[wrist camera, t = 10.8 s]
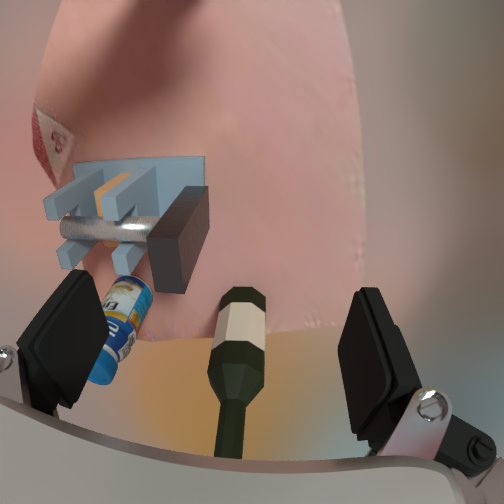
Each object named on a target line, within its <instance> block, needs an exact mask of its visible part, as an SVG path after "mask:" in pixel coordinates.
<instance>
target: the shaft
mask: <svg viewBox="0 0 504 504" xmlns="http://www.w3.org/2000/svg"><path fill="white" fill-rule="evenodd" d="M209 228H210V225H209V194H208V186H185V187H184V189H183V190H182V191H181V192H180V194H179V195H178V196H177V197H176V199H175V200H174V201H173V203H172V204H171V205H170V206H169V208H168V209H167V210H166V212H165V213H164V214H163V216H162V217H154V216H123V217H122V218H121V219H120V221H104V217H103V216H64V217H63V218H62V220H61V223H60V233H61V236H62V237H63V238H65V239H87V240H110V241H132V242H147V247H148V253H149V259H150V265H151V270H152V276H153V281H154V286H155V291H156V292H165V293H177V294H185V291H186V289H187V286H188V283H189V280H190V278H191V275H192V272H193V270H194V267H195V264H196V262H197V259H198V256H199V254H200V251H201V249H202V246H203V243H204V241H205V238H206V236H207V233H208V231H209Z"/></svg>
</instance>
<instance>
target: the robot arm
mask: <svg viewBox="0 0 504 504" xmlns="http://www.w3.org/2000/svg"><path fill="white" fill-rule="evenodd" d="M109 333H110V328H109V325H108V322H107V319H106V316H105V314H104V311H103V308H102V305H101V302H100V299H99V296H98V293H97V290H96V287H95V283H94V280H93V277H92V276H91V275H90V274H89V272H88V271H86V270H77V269H74V270H72V271H71V272H70V273H69V274H68V276H67V277H66V278H65V279H64V280H63V281H62V283H61V284H60V285H59V286H58V288H57V289H56V290H55V291H54V293H53V294H52V295H51V296H50V298H49V299H48V300H47V301H46V303H45V304H44V305H43V306H42V308H41V309H40V310H39V312H38V313H37V314H36V316H35V317H34V318H33V320H32V321H31V322H30V324H29V325H28V327H27V328H26V330H25V331H24V332H23V334H22V335H21V337H20V338H19V339H18V341H17V342H16V344H17V345H18V347H19V349H18V351H17V350H16V349H15V348H14V347H12V346H7V345H6V346H1V347H0V504H504V460H503V459H502V457H500V458H498V459H497V458H496V446H495V443H494V441H493V440H492V438H491V437H490V436H488V435H487V434H485V433H484V432H482V431H480V430H479V429H477V428H475V427H473V426H471V425H470V424H468V423H466V422H465V421H463V420H461V419H460V418H458V417H456V416H454V415H453V414H452V410H453V408H452V403H451V401H450V398H449V397H448V396H447V395H446V393H445V392H443V391H442V390H440V389H438V388H435V387H424V388H422V385H421V382H420V379H419V377H418V374H417V371H416V369H415V366H414V364H413V361H412V358H411V356H410V353H409V351H408V348H407V346H406V343H405V341H404V338H403V336H402V333H401V331H400V329H399V327H398V326H397V325H394V323H393V320H392V318H391V316H390V314H389V311H388V309H387V306H386V304H385V302H384V300H383V297H382V295H381V293H380V291H379V289H378V288H375V287H374V288H373V287H362V288H361V289H360V291H356V292H355V293H354V296H353V300H352V303H351V307H350V310H349V313H348V316H347V320H346V323H345V326H344V330H343V332H342V335H341V338H340V341H339V345H338V358H339V363H340V368H341V373H342V378H343V384H344V389H345V395H346V401H347V407H348V412H349V419H350V424H351V431H352V433H354V434H357V440H358V441H362V440H368V444H369V447H370V450H369V451H368V452H367V454H366V455H365V457H357V458H344V459H333V460H332V459H331V460H308V461H264V460H244V459H230V458H220V457H211V456H203V455H195V454H188V453H182V452H176V451H171V450H165V449H160V448H155V447H151V446H146V445H142V444H137V443H133V442H129V441H125V440H122V439H118V438H114V437H111V436H107V435H103V434H101V433H97V432H94V431H91V430H88V429H85V428H82V427H79V426H76V425H74V424H71V423H68V422H65V421H63V420H60V419H59V416H58V412H57V408H56V407H57V404H58V403H59V404H60V405H61V406H63V407H66V408H69V409H71V408H72V406H73V404H74V403H76V402H77V401H78V399H79V397H80V394H81V392H82V390H83V387H84V386H85V383H86V381H87V379H88V377H89V375H90V373H91V371H92V369H93V367H94V365H95V363H96V360H97V358H98V356H99V354H100V352H101V350H102V348H103V346H104V344H105V342H106V341H107V339H108V337H109Z"/></svg>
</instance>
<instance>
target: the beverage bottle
mask: <svg viewBox="0 0 504 504" xmlns="http://www.w3.org/2000/svg"><path fill="white" fill-rule="evenodd" d="M152 300H153V295H152V291H151V289H150V287H149V286H148V285H147V283H146V282H144V281H143V280H142V279H140V278H138V277H136V276H133V275H122V276H120V277H118V278H117V279H116V281H115V282H114V284H113V285H112V287H111V288H110V290H109V292H108V293H107V295H106V296H105V298H104V299H103V301H102V302H101V305H102V308H103V311H104V314H105V316H106V319H107V322H108V325H109V328H110V333H109V337H108V339H107V341H106V342H105V344H104V346H103V348H102V350H101V352H100V354H99V356H98V358H97V360H96V363H95V365H94V367H93V369H92V371H91V373H90V375H89V377H88V379H87V380H89V381H91V382H93V383H96V384H99V385H108V384H110V383H111V382H112V380H113V378H114V376H115V373H116V371H117V368H118V362H120V361H122V360H123V359H124V358H125V357H127V355H128V354H129V353H130V349H131V346H132V345H133V344H134V342H135V341H136V338H137V334H138V331H139V329H140V327H141V324H142V322H143V320H144V318H145V315H146V313H147V311H148V309H149V307H150V305H151V303H152Z"/></svg>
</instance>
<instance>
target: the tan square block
mask: <svg viewBox="0 0 504 504" xmlns="http://www.w3.org/2000/svg"><path fill="white" fill-rule="evenodd" d="M131 174H132V173H120V174H119V175H117V176H116V177H114V178H113V179H111V180H110V181H108V182H107V183H105V184H104V185H103V186H101V187H100V188H98V189H97V190H95V191H94V195H95V201H96V207H97V213H98V216H103V212H102V206H101V200H100V197H101V196H102V195H103V194H105V193H106V192H107V191H109V190H110V189H111V188H113V187H114V186H115V185H117V184H118V183H120V182H121V181H122V180H124V179H125V178H126V177H128V176H129V175H131ZM103 242H104V246H107V247H118V246H119V244H120V243H121V242H122V241H110V240H103Z"/></svg>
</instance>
